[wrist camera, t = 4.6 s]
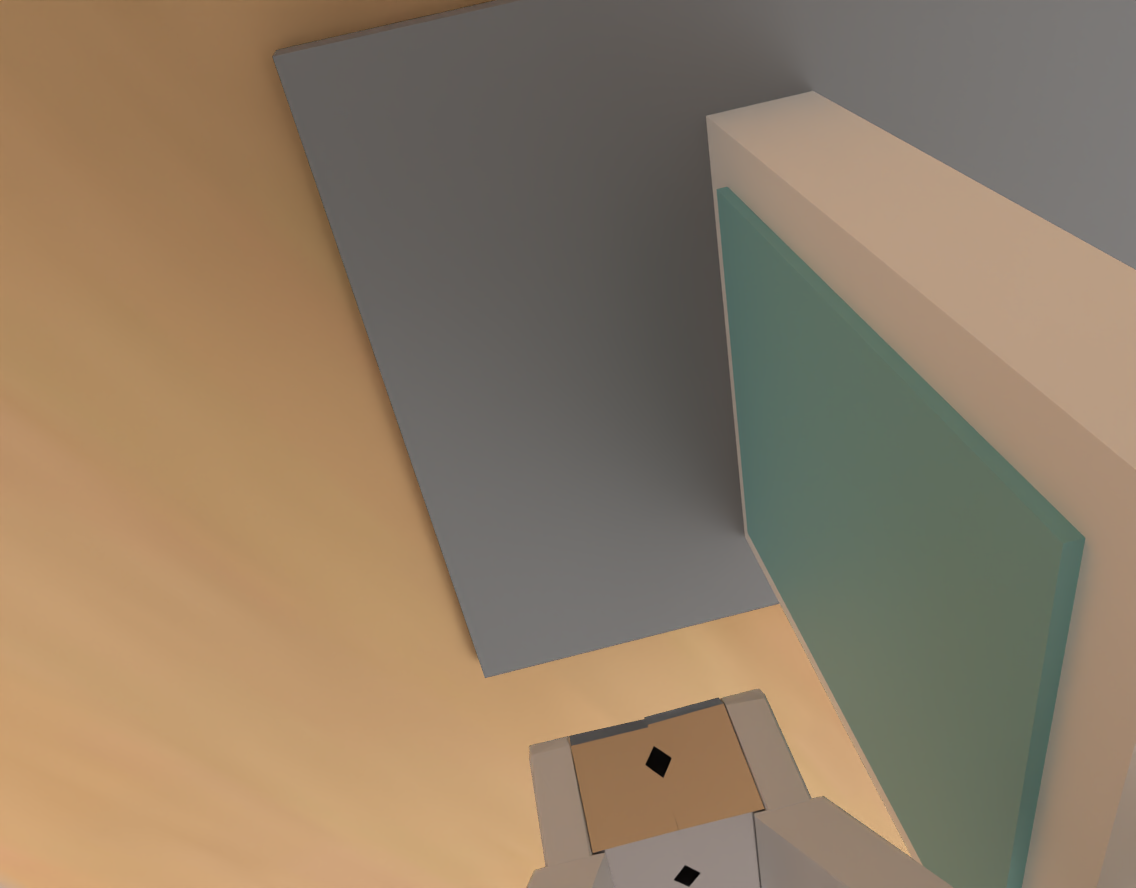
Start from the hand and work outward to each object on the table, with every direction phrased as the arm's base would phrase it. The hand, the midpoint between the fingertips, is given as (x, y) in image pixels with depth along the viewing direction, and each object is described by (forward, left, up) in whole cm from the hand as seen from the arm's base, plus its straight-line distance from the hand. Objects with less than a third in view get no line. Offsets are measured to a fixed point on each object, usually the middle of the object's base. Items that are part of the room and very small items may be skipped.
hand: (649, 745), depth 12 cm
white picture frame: (0, +5, -9) cm, 10 cm away
